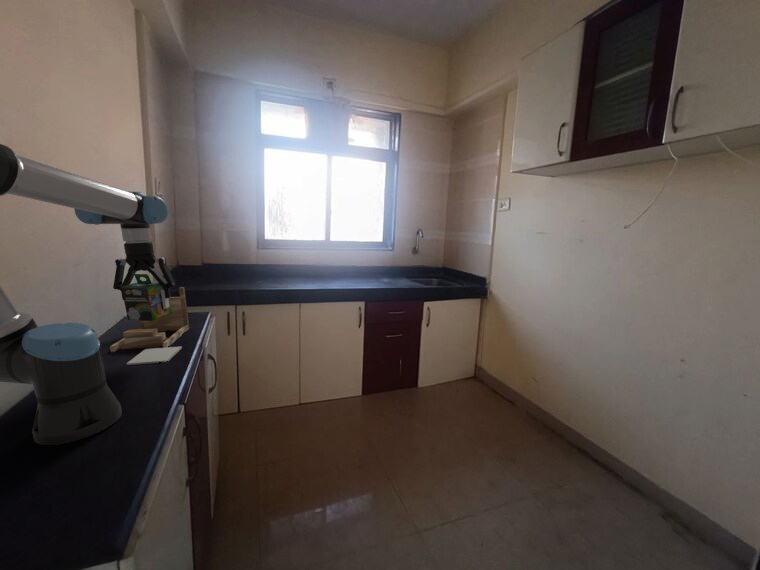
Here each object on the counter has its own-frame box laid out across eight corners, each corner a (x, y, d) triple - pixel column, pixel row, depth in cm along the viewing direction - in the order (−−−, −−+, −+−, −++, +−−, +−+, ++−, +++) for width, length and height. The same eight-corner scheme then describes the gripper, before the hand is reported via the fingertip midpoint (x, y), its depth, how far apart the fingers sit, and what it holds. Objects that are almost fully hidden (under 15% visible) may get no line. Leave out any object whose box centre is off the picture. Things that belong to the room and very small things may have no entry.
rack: (166, 348, 121) (159, 300, 117) (110, 351, 118) (101, 302, 114) (189, 328, 142) (184, 287, 138) (142, 331, 139) (135, 289, 135)
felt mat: (167, 362, 109) (167, 360, 109) (126, 365, 107) (126, 363, 107) (181, 348, 121) (181, 346, 121) (145, 350, 119) (145, 348, 119)
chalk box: (172, 313, 116) (167, 271, 112) (152, 321, 107) (146, 276, 104) (147, 312, 116) (141, 270, 113) (125, 320, 107) (118, 275, 104)
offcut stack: (162, 346, 122) (160, 331, 121) (120, 349, 120) (117, 333, 119) (168, 342, 127) (166, 327, 126) (127, 344, 124) (124, 329, 123)
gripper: (181, 240, 112) (189, 303, 116) (105, 241, 108) (117, 307, 112) (171, 241, 104) (181, 309, 109) (90, 243, 101) (103, 313, 105)
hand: (148, 308), depth 111 cm, fingers closed on chalk box, 10 cm apart
